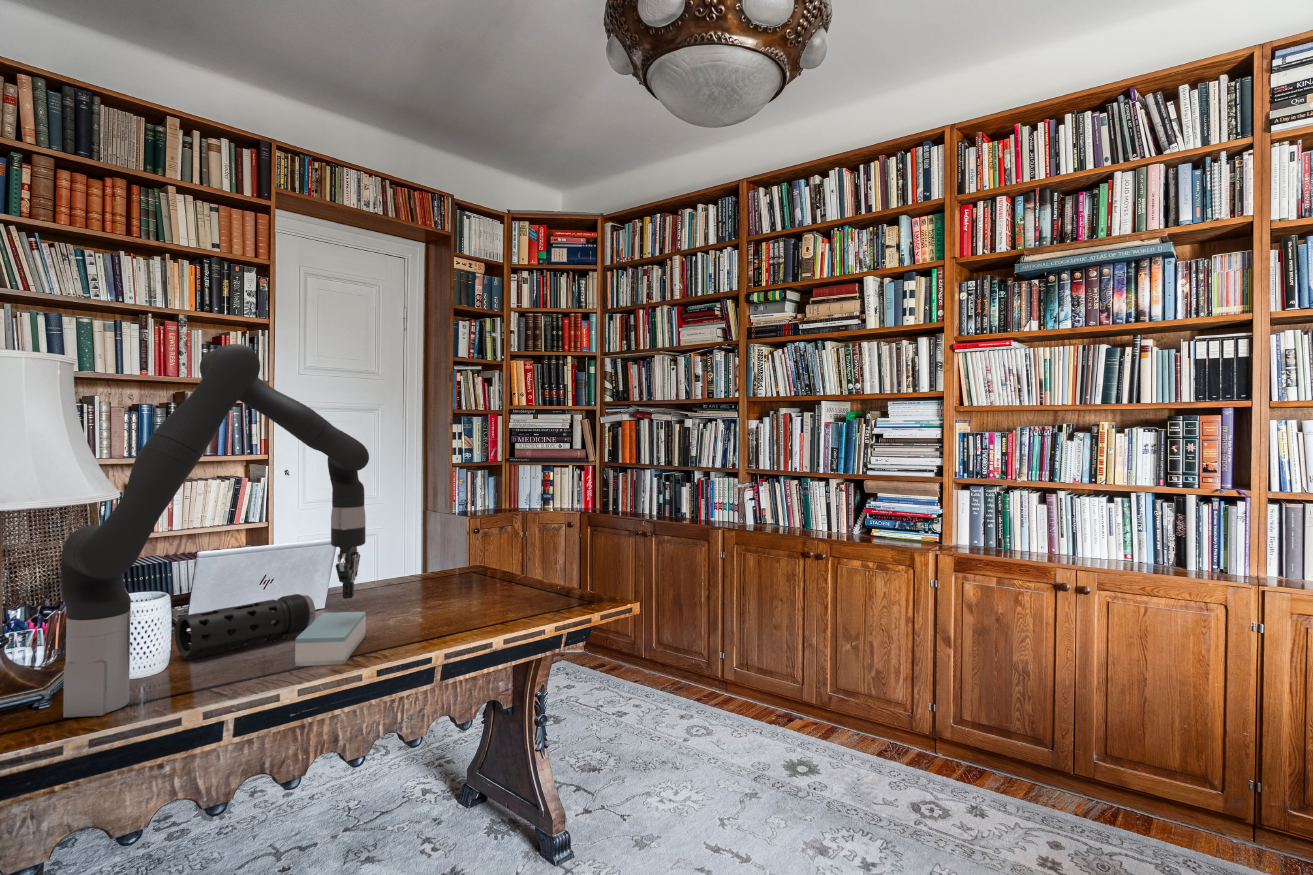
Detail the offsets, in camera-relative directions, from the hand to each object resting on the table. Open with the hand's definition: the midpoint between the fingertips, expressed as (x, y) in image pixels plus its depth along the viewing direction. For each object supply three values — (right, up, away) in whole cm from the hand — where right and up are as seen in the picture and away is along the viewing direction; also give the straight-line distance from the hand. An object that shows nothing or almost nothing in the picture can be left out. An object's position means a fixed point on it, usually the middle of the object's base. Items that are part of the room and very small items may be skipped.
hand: (348, 597), depth 167 cm
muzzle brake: (-23, -12, 0) cm, 26 cm away
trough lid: (-3, -7, -2) cm, 8 cm away
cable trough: (-3, -12, -2) cm, 12 cm away
